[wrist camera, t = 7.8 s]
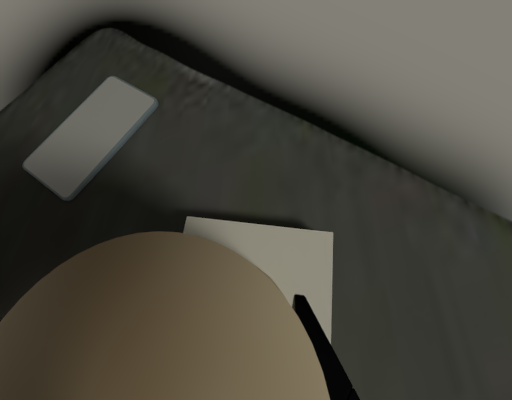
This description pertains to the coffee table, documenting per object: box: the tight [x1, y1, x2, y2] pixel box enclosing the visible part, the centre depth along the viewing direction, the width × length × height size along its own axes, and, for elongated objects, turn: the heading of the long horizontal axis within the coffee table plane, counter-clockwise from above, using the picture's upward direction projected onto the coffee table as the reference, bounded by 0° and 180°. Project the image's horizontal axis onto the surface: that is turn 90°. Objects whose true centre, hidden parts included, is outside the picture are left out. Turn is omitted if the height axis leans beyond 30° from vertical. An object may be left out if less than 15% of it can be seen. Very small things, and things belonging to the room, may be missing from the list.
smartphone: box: [22, 76, 158, 201], centre depth 26 cm, size 8×1×15 cm
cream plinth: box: [183, 216, 333, 344], centre depth 18 cm, size 12×12×3 cm
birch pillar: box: [0, 231, 330, 400], centre depth 9 cm, size 5×5×13 cm
